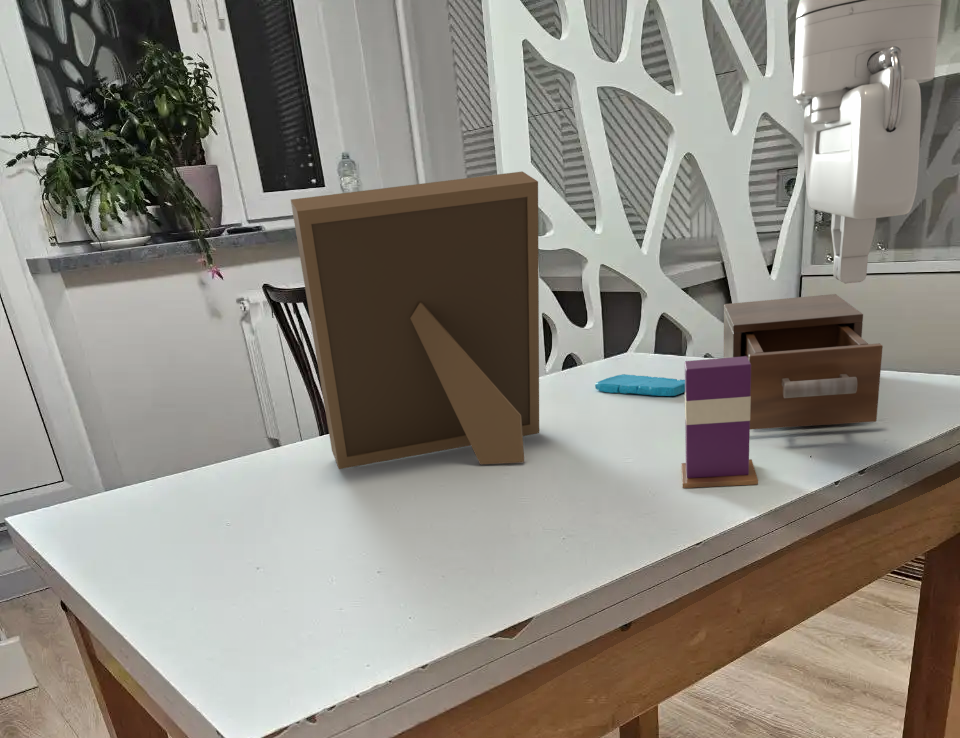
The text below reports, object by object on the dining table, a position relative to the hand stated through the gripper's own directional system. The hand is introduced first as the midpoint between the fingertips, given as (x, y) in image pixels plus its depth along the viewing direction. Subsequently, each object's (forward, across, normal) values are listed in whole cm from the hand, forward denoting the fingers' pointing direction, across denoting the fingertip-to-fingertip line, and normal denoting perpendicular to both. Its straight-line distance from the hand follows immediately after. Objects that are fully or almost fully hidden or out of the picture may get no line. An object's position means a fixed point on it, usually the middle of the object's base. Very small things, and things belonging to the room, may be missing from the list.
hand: (849, 281), depth 67 cm
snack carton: (+14, +2, +9) cm, 17 cm away
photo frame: (+15, +14, +35) cm, 40 cm away
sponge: (+15, +38, +16) cm, 44 cm away
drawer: (+14, +19, 0) cm, 24 cm away
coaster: (+15, +2, +9) cm, 18 cm away
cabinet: (+15, +34, 0) cm, 37 cm away
